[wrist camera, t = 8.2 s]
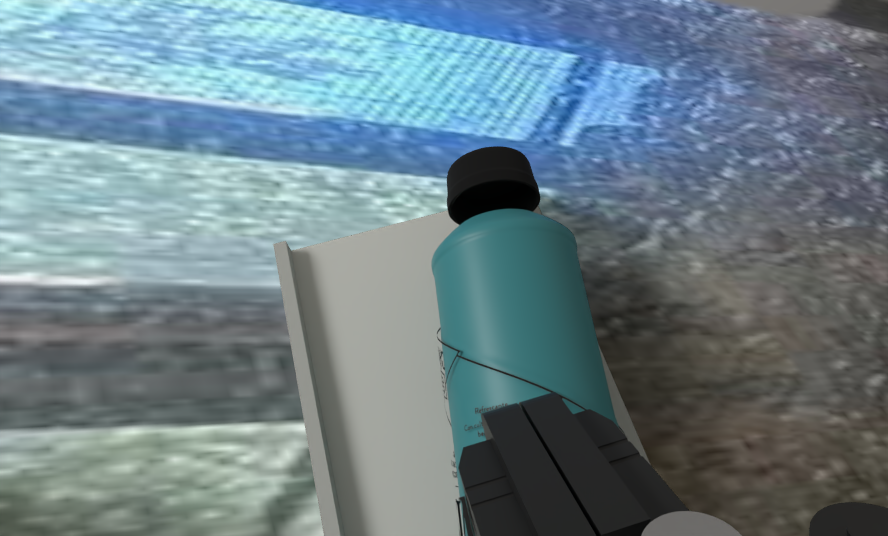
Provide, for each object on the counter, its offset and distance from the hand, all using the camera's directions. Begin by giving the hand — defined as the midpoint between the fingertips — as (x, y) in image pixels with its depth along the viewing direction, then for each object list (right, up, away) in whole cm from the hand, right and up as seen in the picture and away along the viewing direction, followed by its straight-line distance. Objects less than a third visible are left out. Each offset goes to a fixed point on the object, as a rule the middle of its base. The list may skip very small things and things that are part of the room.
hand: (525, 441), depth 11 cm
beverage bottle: (+3, -10, +7) cm, 12 cm away
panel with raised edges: (-1, -2, +15) cm, 15 cm away
